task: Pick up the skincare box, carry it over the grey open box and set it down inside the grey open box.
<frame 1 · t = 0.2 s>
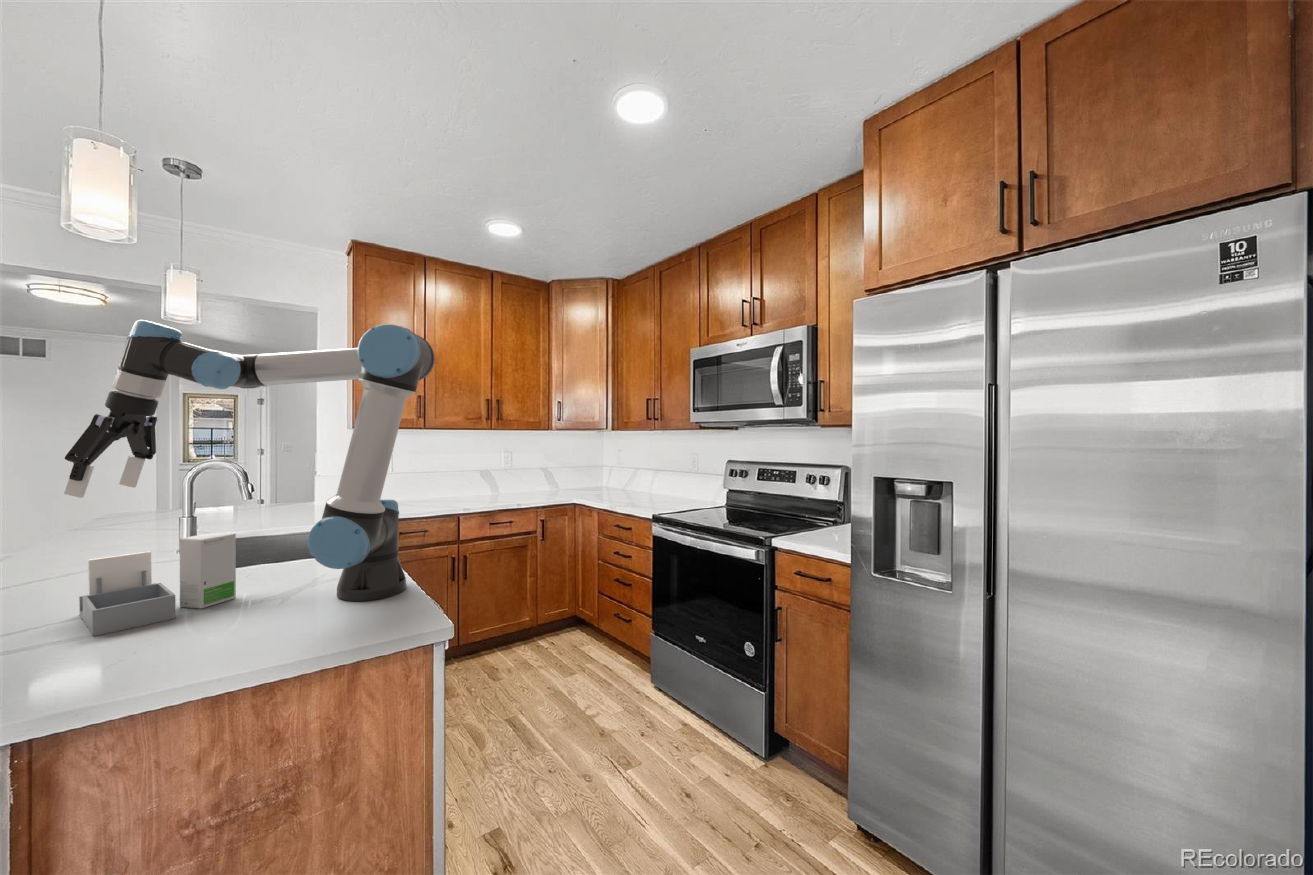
hand: (102, 490, 108), 27 cm above the table, tool tilted 15°, fingers open, 13 cm apart
skincare box: (208, 603, 120), on the table
grey open box: (127, 616, 111), on the table
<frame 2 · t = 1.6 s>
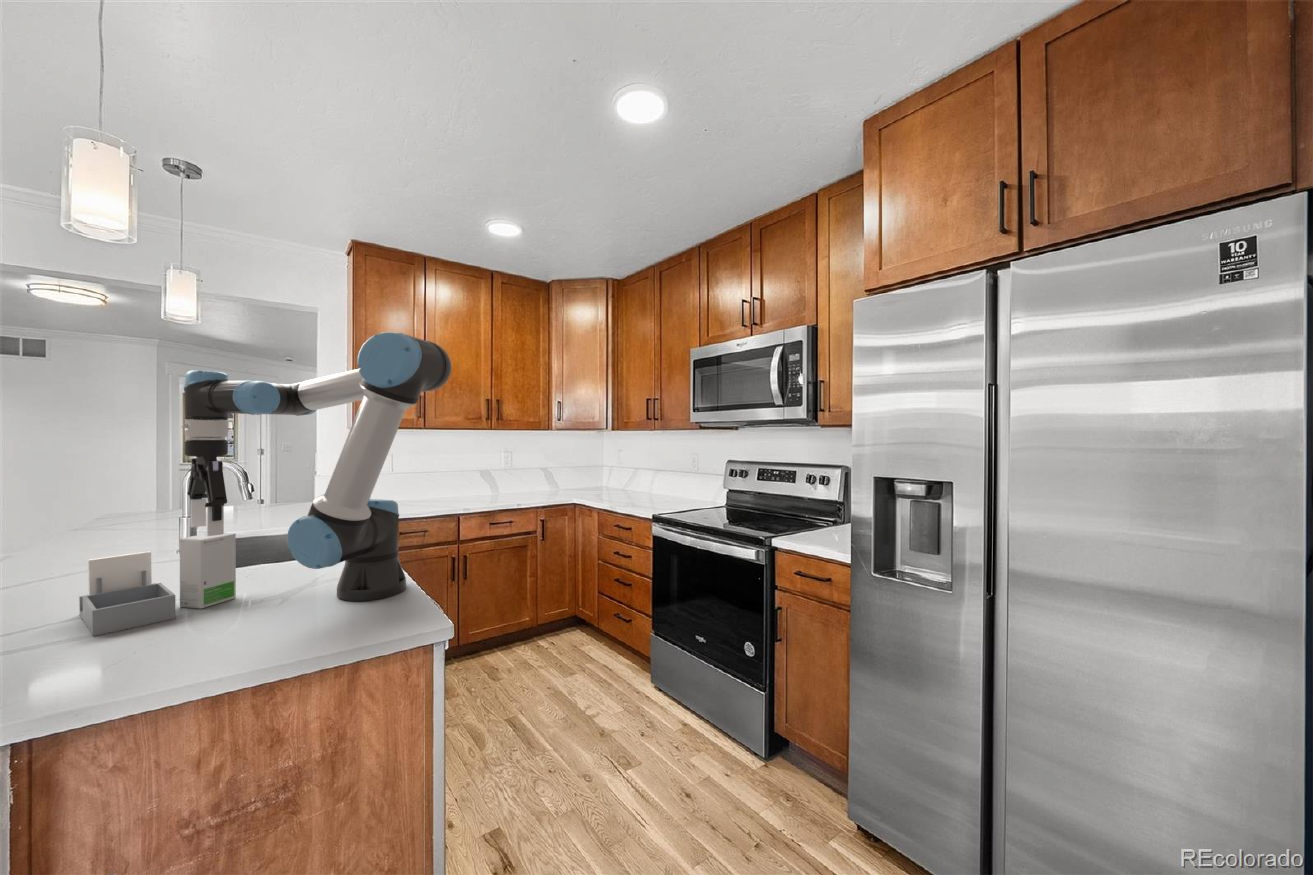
hand: (206, 530, 120), 17 cm above the table, tool pointing down, fingers open, 13 cm apart
nothing on the table moved.
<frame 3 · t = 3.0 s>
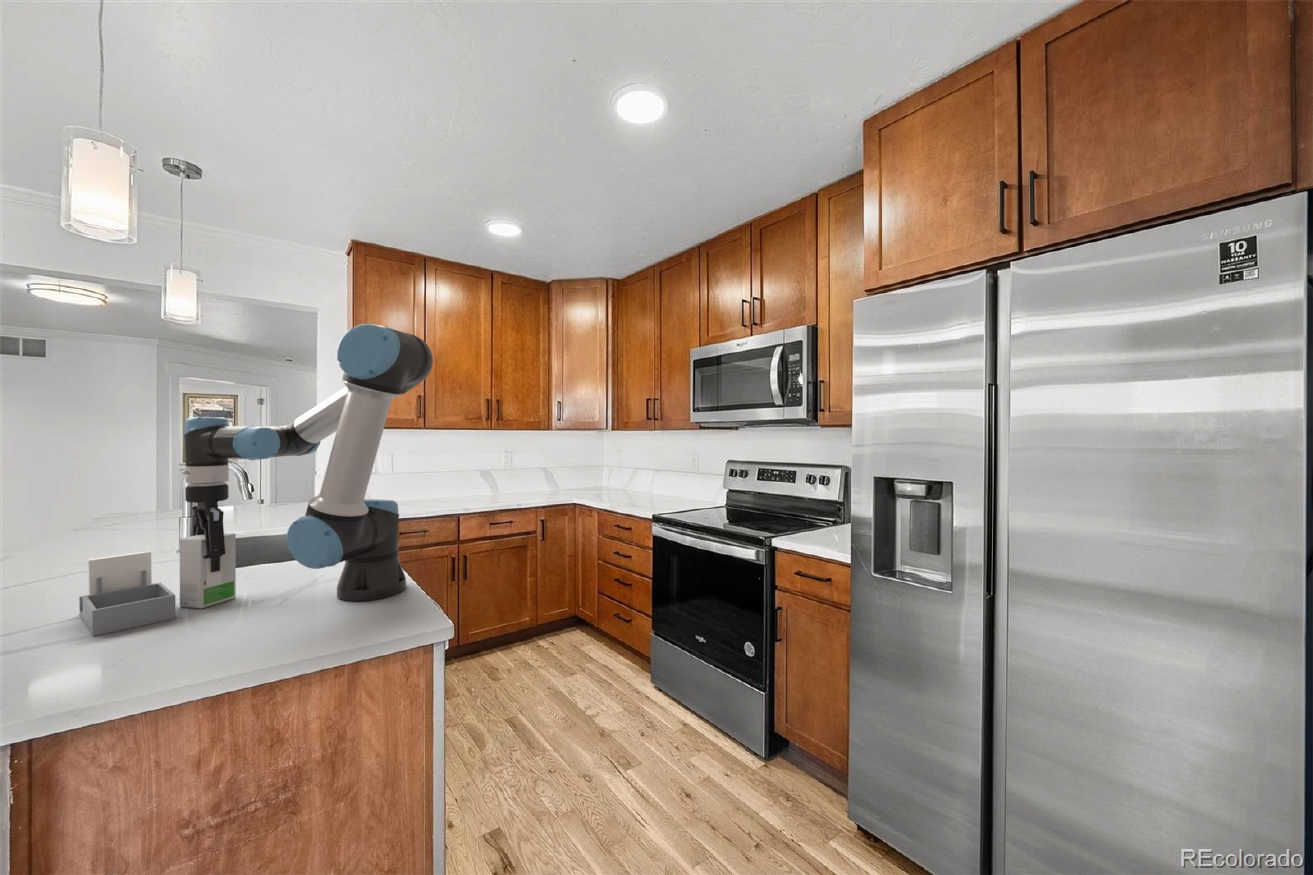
hand: (208, 581, 120), 5 cm above the table, tool pointing down, fingers closed on skincare box, 8 cm apart
skincare box: (208, 603, 120), on the table, touching gripper
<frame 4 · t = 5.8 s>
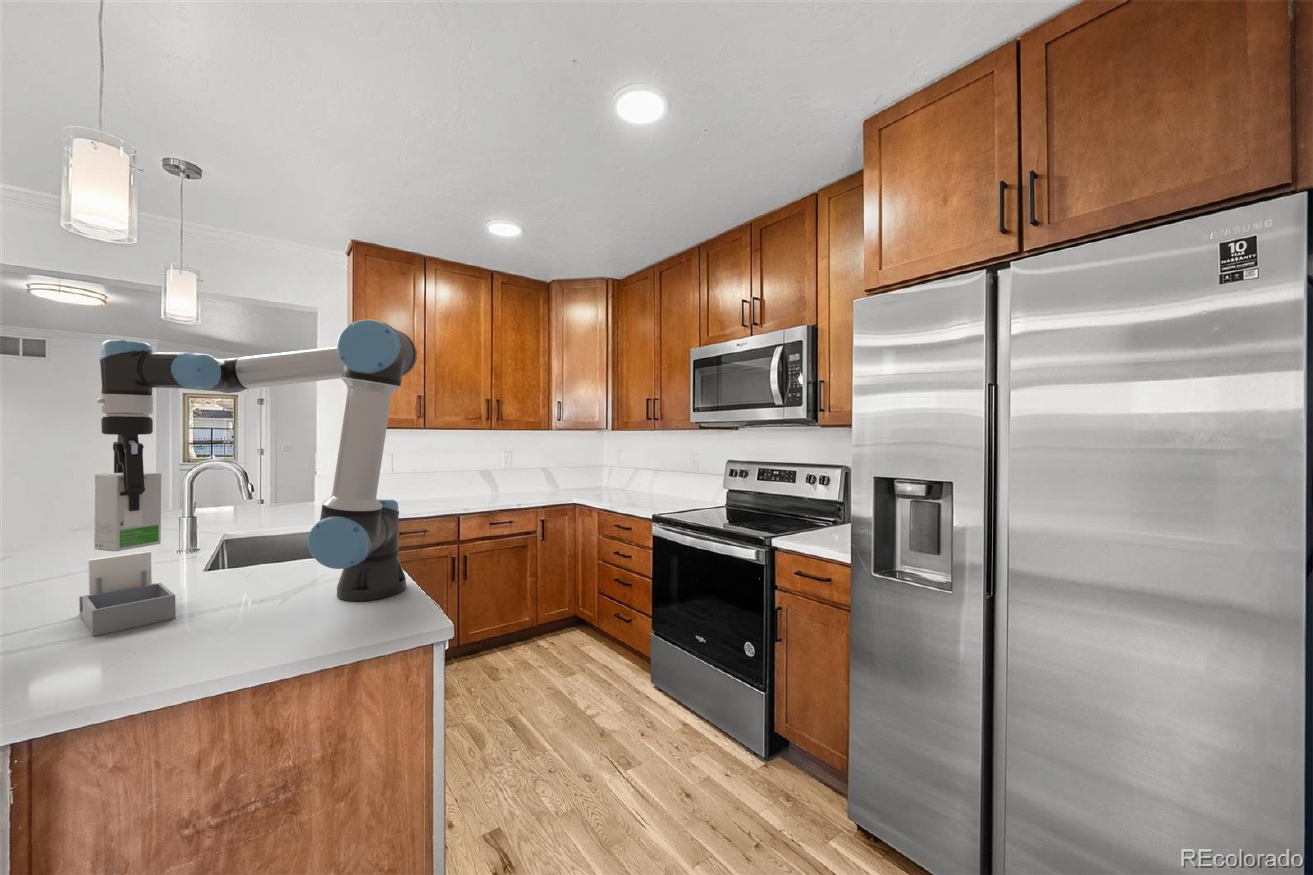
hand: (128, 523, 109), 20 cm above the table, tool pointing down, fingers closed on skincare box, 8 cm apart
skincare box: (128, 547, 109), point 15 cm above the table, touching gripper
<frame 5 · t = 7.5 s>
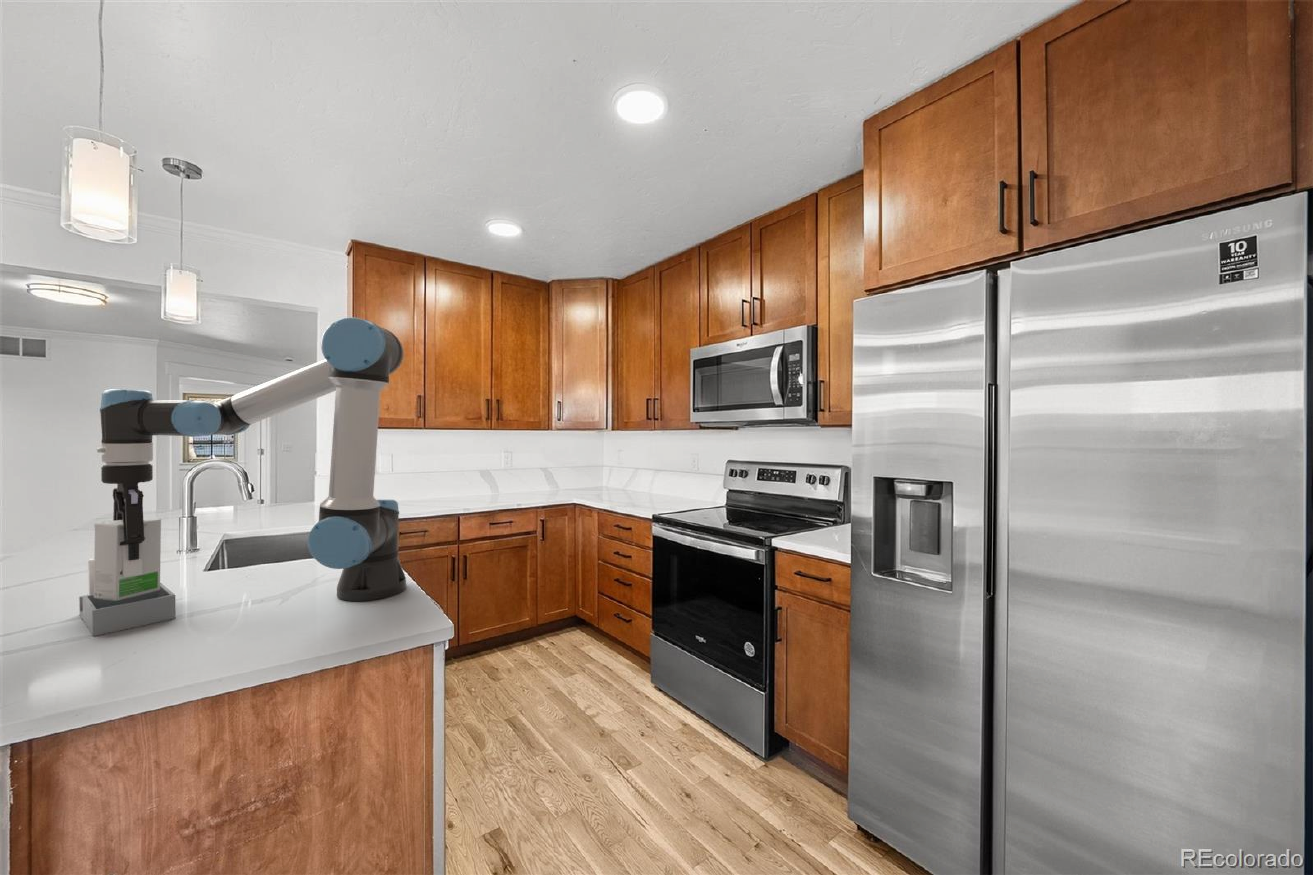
hand: (128, 571, 109), 10 cm above the table, tool pointing down, fingers closed on skincare box, 8 cm apart
skincare box: (127, 595, 109), point 5 cm above the table, touching gripper
when the fingers open (7 cm above the table, at t = 8.6 s): skincare box drops 1 cm, resting on grey open box.
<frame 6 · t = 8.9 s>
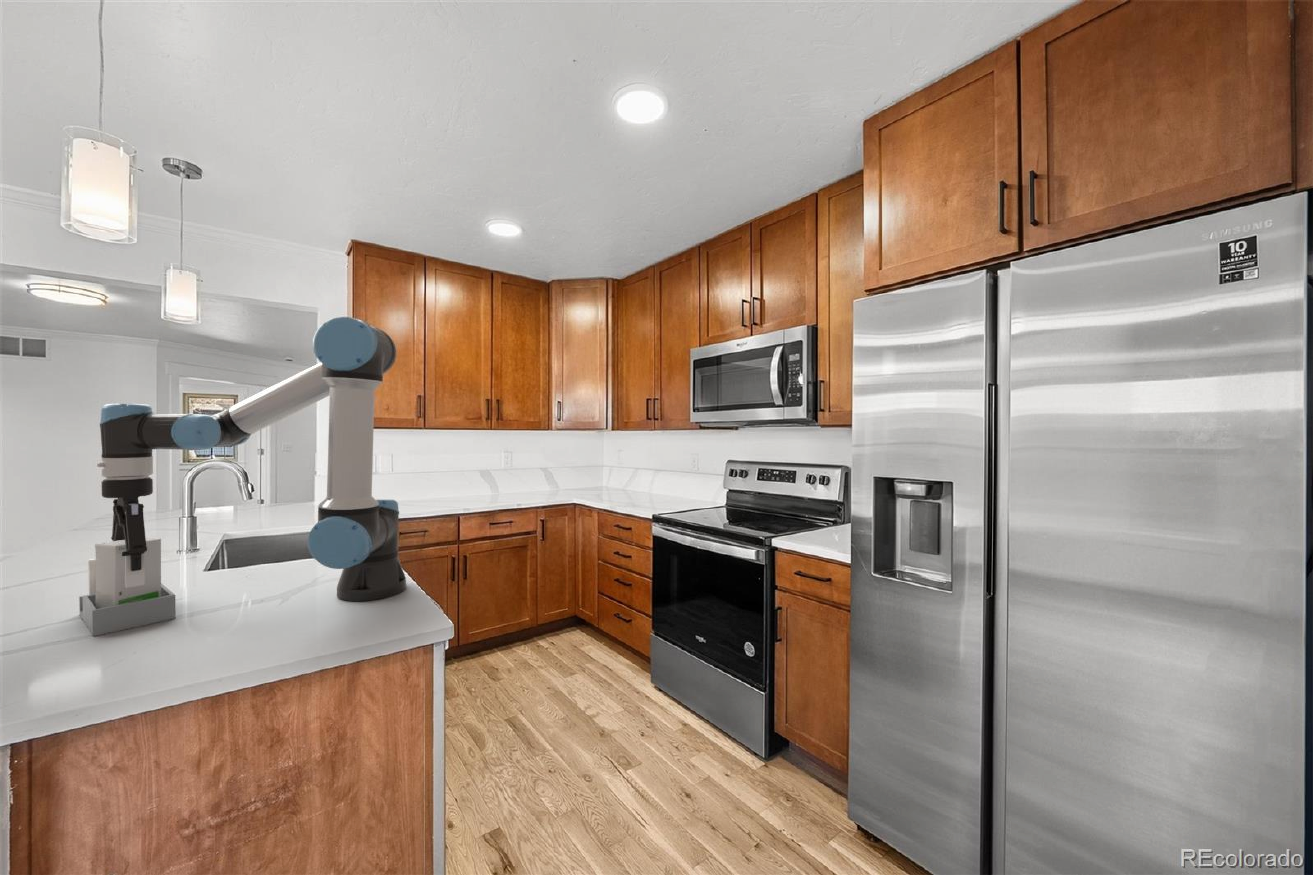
hand: (129, 580, 109), 8 cm above the table, tool pointing down, fingers open, 12 cm apart
skincare box: (129, 614, 110), point 1 cm above the table, touching grey open box
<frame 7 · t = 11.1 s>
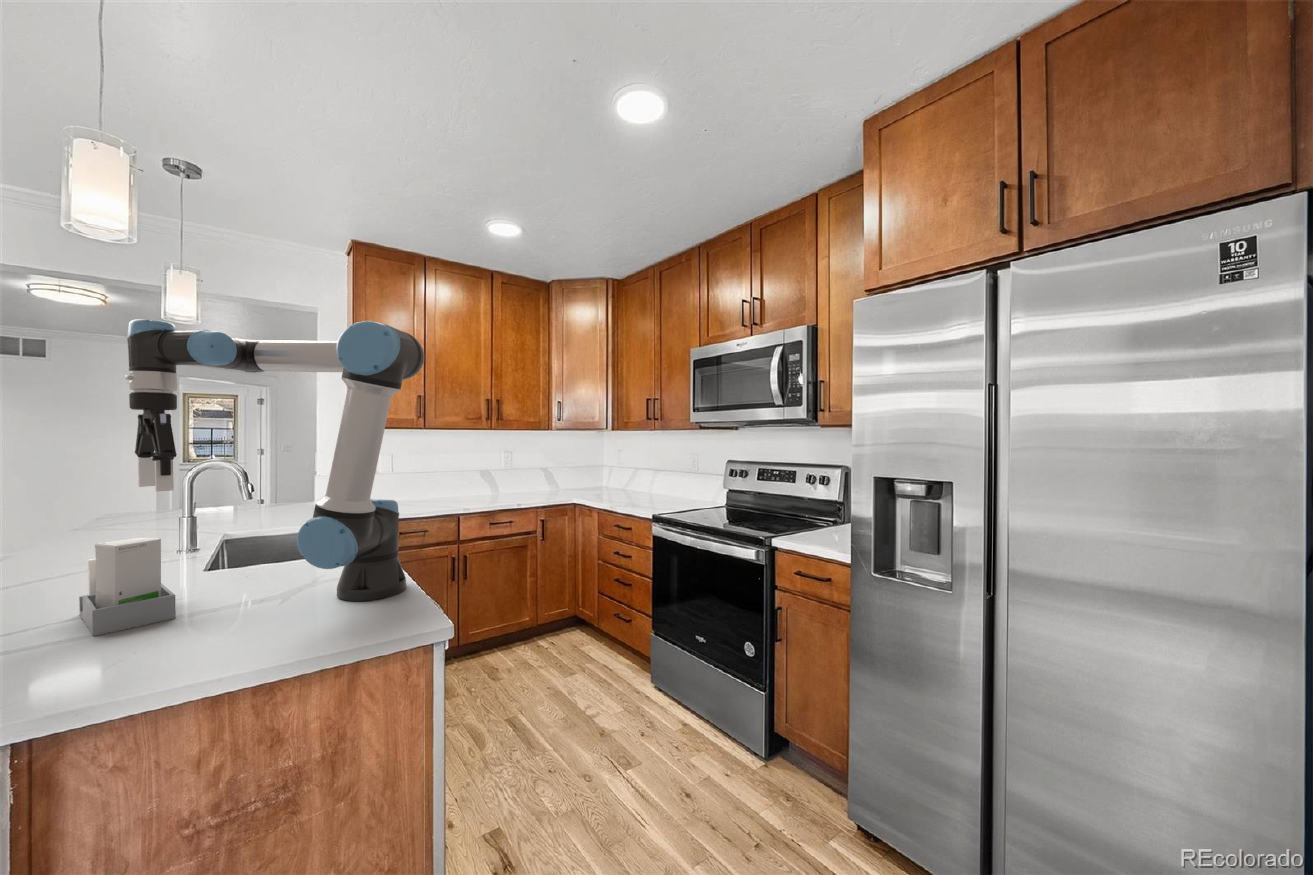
hand: (155, 488, 115), 27 cm above the table, tool pointing down, fingers open, 13 cm apart
nothing on the table moved.
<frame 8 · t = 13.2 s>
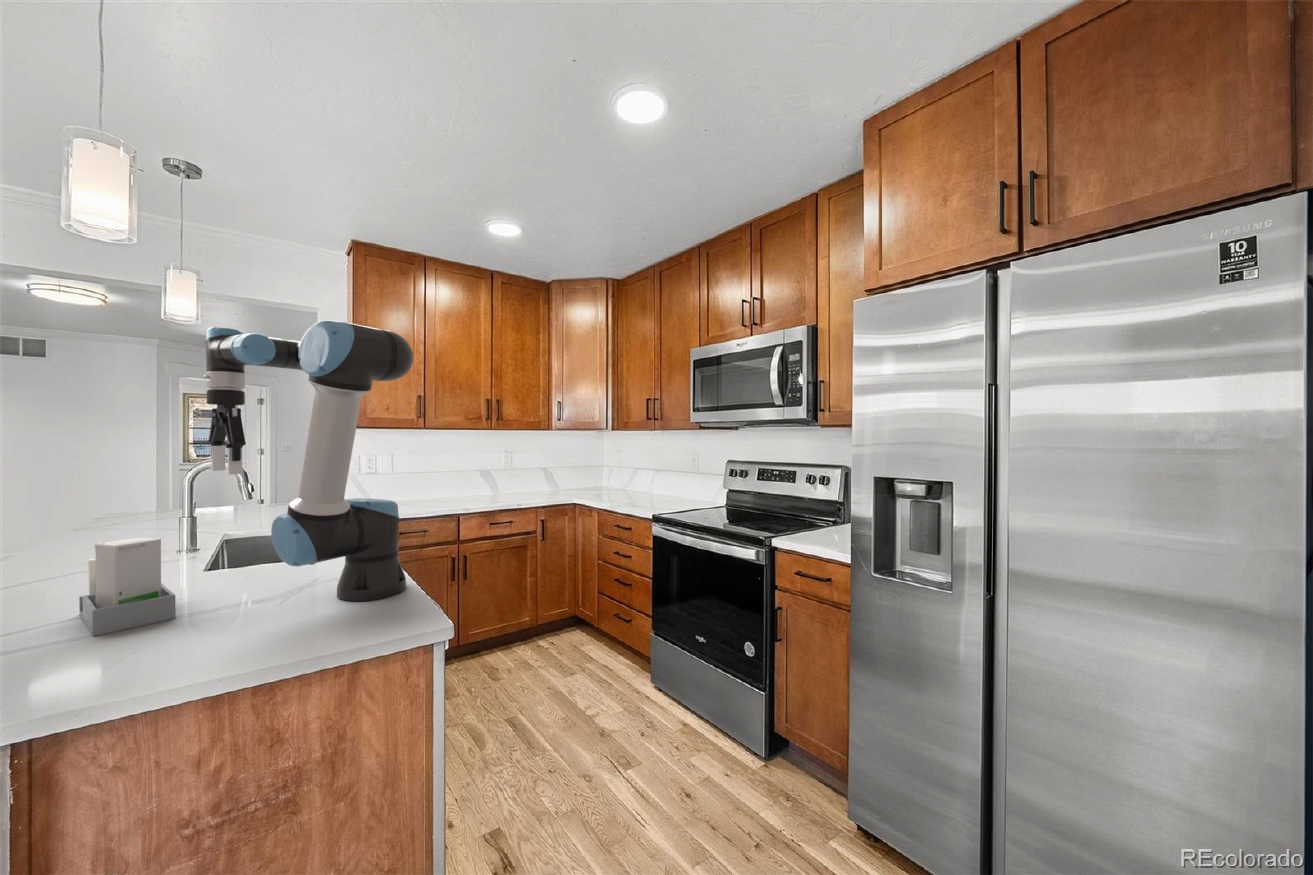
hand: (226, 472, 133), 29 cm above the table, tool pointing down, fingers open, 13 cm apart
nothing on the table moved.
at the end: skincare box inside the target area on the grey open box (0.5 cm from its centre), point 0.8 cm above the grey open box's base; skincare box tilted 0°; the gripper is holding nothing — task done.
